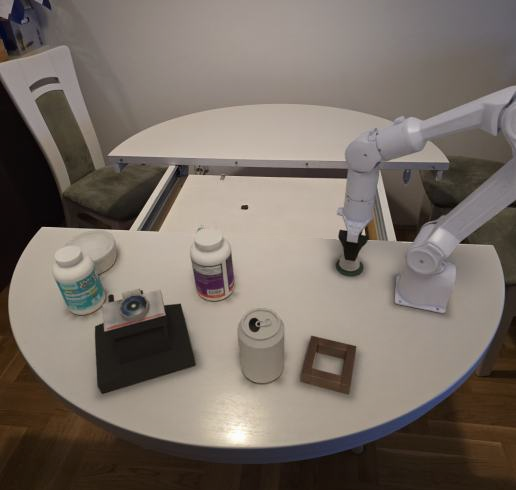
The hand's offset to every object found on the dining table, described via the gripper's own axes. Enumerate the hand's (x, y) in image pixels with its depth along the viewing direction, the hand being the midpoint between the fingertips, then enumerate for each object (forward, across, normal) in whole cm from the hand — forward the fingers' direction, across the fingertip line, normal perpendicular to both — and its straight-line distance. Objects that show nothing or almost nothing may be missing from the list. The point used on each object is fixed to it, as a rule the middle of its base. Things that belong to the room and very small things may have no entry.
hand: (352, 247), depth 86 cm
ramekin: (+6, +14, -56) cm, 58 cm away
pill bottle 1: (+6, +26, -50) cm, 56 cm away
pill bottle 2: (+6, +14, -26) cm, 30 cm away
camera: (+6, +32, -33) cm, 46 cm away
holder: (+6, +26, 0) cm, 27 cm away
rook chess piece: (+5, 0, 0) cm, 5 cm away
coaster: (+6, 0, 0) cm, 6 cm away
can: (+6, +30, -11) cm, 32 cm away
